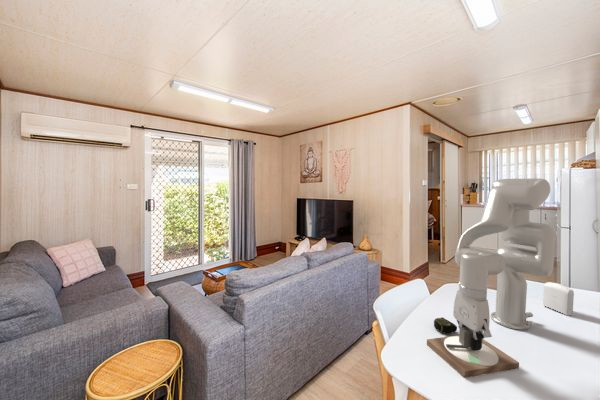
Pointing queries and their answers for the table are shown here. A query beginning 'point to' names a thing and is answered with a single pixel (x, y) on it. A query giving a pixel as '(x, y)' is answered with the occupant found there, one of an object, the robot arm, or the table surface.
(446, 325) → the tape measure
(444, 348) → the tuner board
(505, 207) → the robot arm
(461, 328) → the grey mallet
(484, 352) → the dial face
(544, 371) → the table surface
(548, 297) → the photo printer
